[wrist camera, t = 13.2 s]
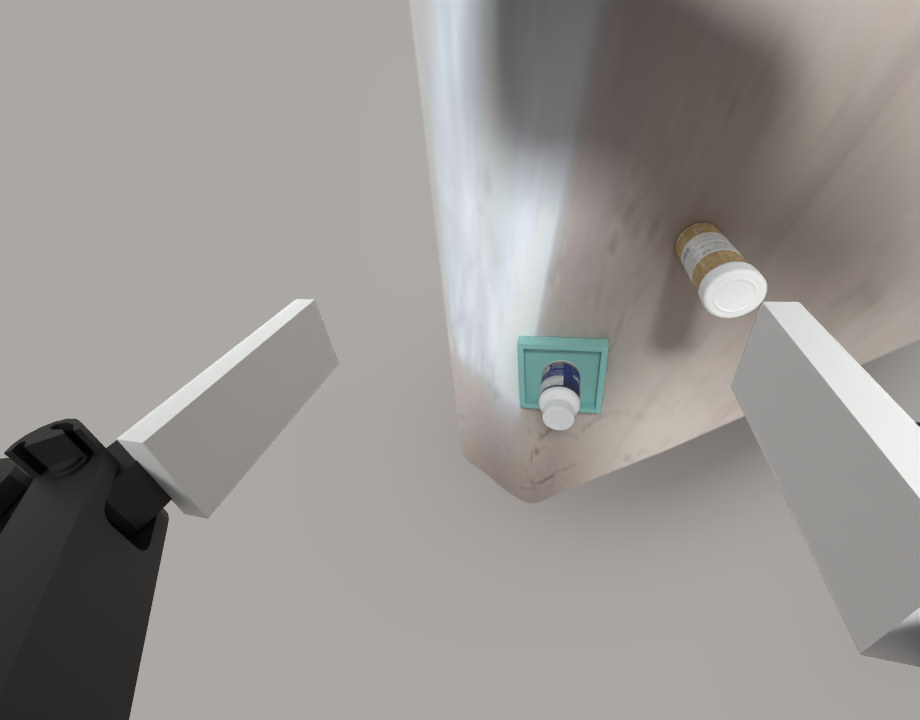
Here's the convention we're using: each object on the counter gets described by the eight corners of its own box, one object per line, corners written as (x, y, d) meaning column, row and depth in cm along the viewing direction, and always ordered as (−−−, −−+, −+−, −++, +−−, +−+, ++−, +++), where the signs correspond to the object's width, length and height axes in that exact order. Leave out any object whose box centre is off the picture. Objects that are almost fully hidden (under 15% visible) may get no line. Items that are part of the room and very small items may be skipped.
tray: (519, 336, 55) (517, 343, 53) (608, 338, 52) (608, 347, 50) (521, 398, 62) (520, 407, 60) (600, 404, 58) (600, 413, 57)
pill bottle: (585, 382, 56) (586, 430, 48) (550, 390, 58) (545, 437, 51) (573, 354, 54) (571, 399, 46) (537, 363, 56) (530, 408, 49)
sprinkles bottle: (706, 265, 43) (746, 326, 33) (666, 256, 44) (692, 312, 33) (730, 226, 40) (782, 278, 30) (686, 216, 41) (722, 264, 30)
